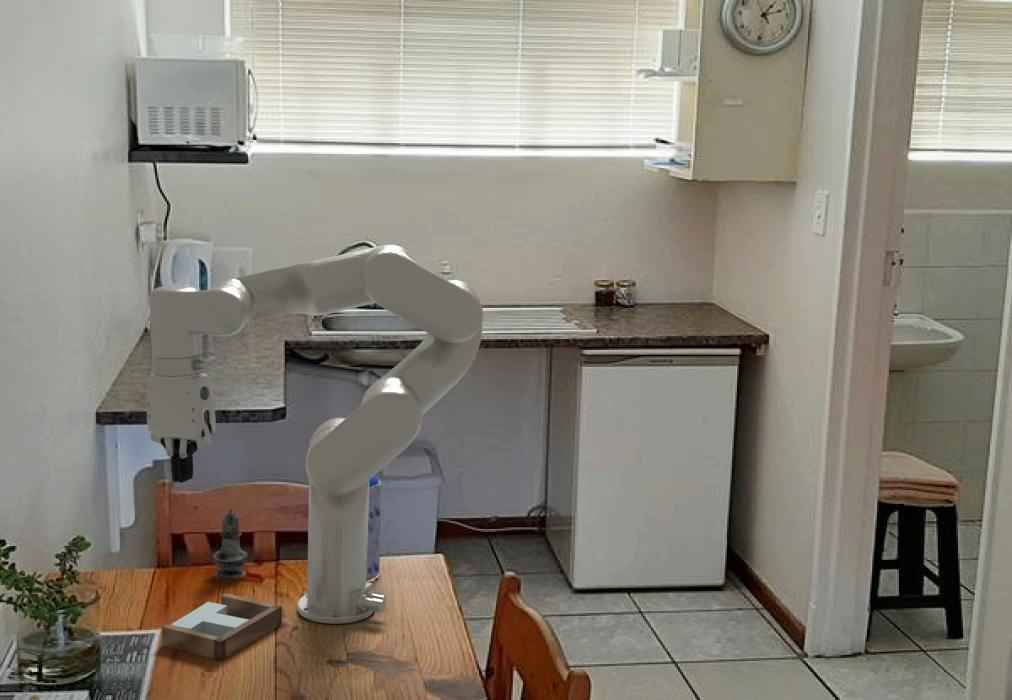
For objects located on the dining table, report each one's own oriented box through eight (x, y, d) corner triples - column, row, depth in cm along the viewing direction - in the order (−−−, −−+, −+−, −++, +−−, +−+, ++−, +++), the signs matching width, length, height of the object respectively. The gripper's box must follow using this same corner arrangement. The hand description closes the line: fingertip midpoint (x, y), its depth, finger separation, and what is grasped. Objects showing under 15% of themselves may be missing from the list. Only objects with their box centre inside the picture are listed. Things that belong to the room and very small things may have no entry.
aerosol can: (386, 570, 219) (389, 461, 215) (371, 586, 211) (374, 473, 208) (345, 564, 221) (347, 457, 217) (328, 580, 213) (330, 468, 210)
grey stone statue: (250, 569, 217) (251, 503, 215) (244, 581, 211) (245, 514, 209) (216, 568, 217) (216, 502, 214) (210, 580, 211) (210, 513, 209)
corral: (162, 645, 184) (162, 626, 184) (225, 610, 198) (225, 593, 198) (220, 660, 180) (220, 641, 180) (281, 624, 194) (281, 606, 193)
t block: (170, 640, 186) (170, 624, 186) (208, 616, 196) (208, 601, 195) (227, 652, 183) (227, 636, 183) (263, 627, 192) (263, 612, 192)
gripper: (232, 365, 192) (236, 479, 195) (153, 358, 197) (158, 468, 201) (203, 374, 185) (208, 492, 188) (122, 366, 190) (128, 481, 194)
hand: (182, 479), depth 194 cm, fingers closed
